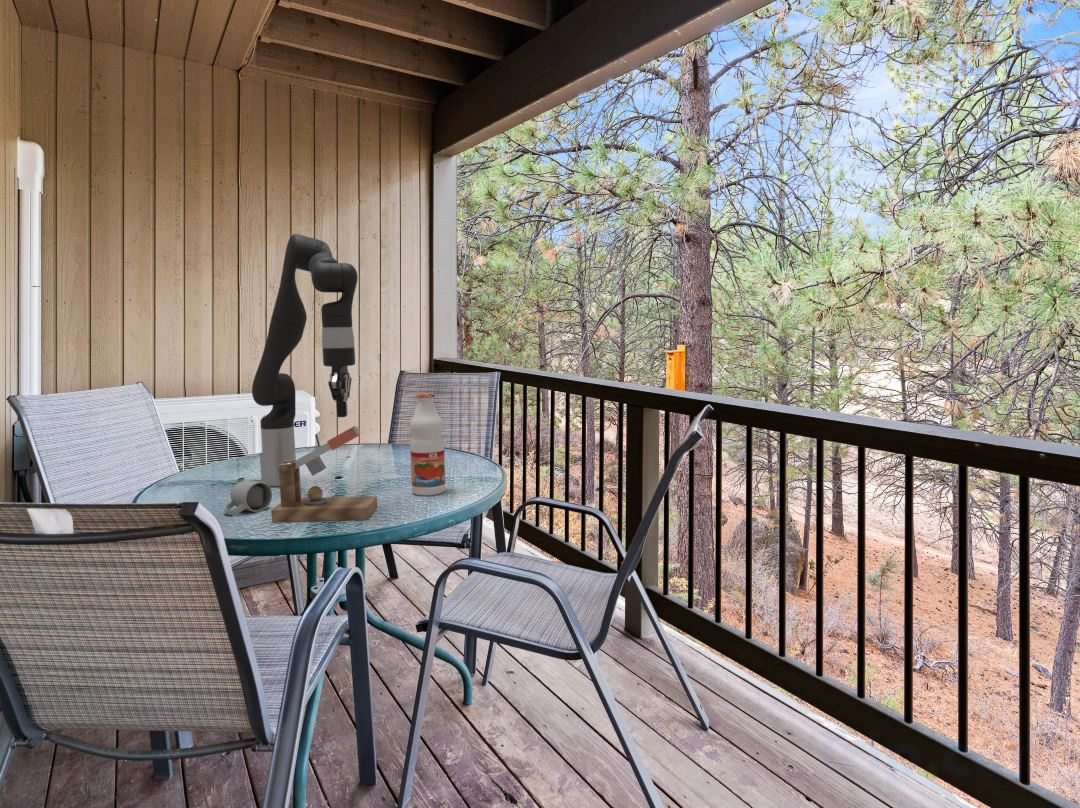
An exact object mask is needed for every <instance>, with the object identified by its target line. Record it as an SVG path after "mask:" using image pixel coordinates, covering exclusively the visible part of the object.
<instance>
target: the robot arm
mask: <svg viewBox="0 0 1080 808" xmlns="http://www.w3.org/2000/svg"><path fill="white" fill-rule="evenodd" d="M297 269H298V270H300V271H305V272H310V274H311V283H312V287H313V288H314V289H315V290H316V291H318V292H321V293H335V294H337V293H341V295H340V298H339V299H338V300H336V301H331V302H326V303H324V304H323V305H321V326H322V328H321V329H322V330H321V345H322V348H321V349H322V362H323V363H322V364H323V366H324V367H331V372H330V375H329V380H328V382H327V383H328V387H329V391H330V393H331V397H332V400H333V401H334V402H335V406H336V417H337V418H345V417H347V416H348V400H349V398H350V396H351V395H350V394H351V386H352V380H353V379H352V377H351V373H350V372H349V369H348V367H349V366H350V367H352V366H355V365H356V351H355V348H356V347H355V336H354V329H353V312H352V309H353V301H354V297H355V296H354V295H355V292H356V288H357V285H358V273H357V272H358V271H357V270H356V268H355V266H354V265H353V264H351V263H347V262H341V263H340V262H339V261H338V260H337V259H335V258H334V256H333V254H332V250H331V248H330V246H329V244H327V243H326V242H324V241H323V240H320V239H318V238H313V237H309V236H306V235H302V234H298V233H293V234H292V235H290V237H289V239H288V241H287V243H286V249H285V254H284V259H283V263H282V270H281V276H280V282H279V288H278V290H277V291H278V292H277V296H276V300H275V303H274V307H273V311H272V314H271V318H270V322H269V327H268V333H267V336H266V337H267V338H266V341H265V344H264V348H263V351H262V355H261V358H260V361H259V365H258V366H257V369H256V371H255V376H254V377H253V380H252V386H251V393H252V394H251V395H252V398H253V401H254V402H255V403H256V404H257V405H258V406H262V407H268V406H272V408H271V410H270V411H269V413H267V415H264V416H263V417H262V418H260V434H261V448H262V451H261V452H260V453H259V464H260V465H259V466H260V482H264V483H266V484H268V485H269V487H280V480H279V464H285V462H284V461H286V460H297V459H296V457H297V456H296V442H295V441H296V439H295V427H294V426H295V425H294V423H295V419H296V413H297V412H296V386H295V382H294V380H293V378H292V377H291V376H290V375H289V374H288V373H283V372H281V371H280V370H281V368H282V366H283V363H284V362H285V360H287V358H288V356H290V355H291V353H292V352H293V351H294V350H295V348H296V347H297V346H298V344H300V342H301V340H302V338H303V336H304V331H305V329H306V328H305V327H306V324H307V319H308V318H307V312H306V308H305V305H304V303H303V300H302V298H301V295H300V293H299V290H298V286H297V282H296V271H297Z"/></svg>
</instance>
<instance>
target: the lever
mask: <svg viewBox="0 0 1080 808" xmlns="http://www.w3.org/2000/svg"><path fill="white" fill-rule="evenodd" d="M359 436H361V431H360V429H359V428H358V426H356V425H353V426H351V427H350V428H348V429H346V430H344V431H343V432H341V433H339V434H337V435H336V436H334V437H332V438H330V439H329V440H327V441H326V443H325V444H323V445H320V446H319V447H317V448H315V449H314V450H312V451H310V452H309V453H307V454H305V455H303V456H302V457H299V458H298V459H296V461H294V462H288V463H286V464H294V472H295V471H296V469H297V468H299V469H300V467H302V466H304V465H305V467H306V469H308V471H309V473H310V475H311V476H312V477H313V476H315V475H317V474H318V473H320V472H322V471H325V469H327V466H326V465H325V463H324V461H323V460H322V457H320V456H322V455H324V454H325V453H327V452H329V451H331V450H332V451H334V450H336V449H338V448H340V447H341V446H342V447H343V445H345V444H346V443H349V442H351V441H352V440H354V439H356V438H357V437H359Z"/></svg>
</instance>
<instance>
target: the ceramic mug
mask: <svg viewBox="0 0 1080 808" xmlns="http://www.w3.org/2000/svg"><path fill="white" fill-rule="evenodd" d="M271 488H272V487H271V486H269V485H268V484H266V483H264V482H261V481H256V480H255V481H254V480H253V481H252V480H245V481H240V482H238V483H236V484H235V485H234V486H232V490H231V492H230V500H231V501H230V502H228V503H227V504H226V505H225V506H224V507H223V511H224V512H225V515H227V516H228V517H229V516H234V515H238V514H240V513H241V512H243V511H245V510H246V511H249V512H253V513H260V512H262V511H263V512H264V511H265V510H266V509H267V508H268V507H269V506H270V505H271V502H272V499H273V492H272V489H271ZM234 507H235V508H234Z"/></svg>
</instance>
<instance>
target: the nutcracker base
mask: <svg viewBox="0 0 1080 808" xmlns="http://www.w3.org/2000/svg"><path fill="white" fill-rule="evenodd" d="M296 460H297V459H296ZM296 460H286V461H284V462H285V464H279V480H280V486H279V490H280V491H279V492H280V493H279V495H280V503H279V504H278V505H276V506H274V507H273V508H272V509H271V512H270V513H271V522H272V523H291V522H292V523H294V522H295V523H298V522H326V521H327V522H330V521H331V522H333V521H363V520H365V521H366V520H369V519H370V518H371V517H372V516H373V514H374V513H375V511H376V510H377V508H378V496H377V495H372V496H369V495H368V496H331V497H330V496H329V497H323V494H324V492H323V489H322V488H321V486H317V485H313V486H311V487H309V488H308V489H307V497H302V491H301V490H302V489H301V488H302V487H301V475H300V474H301V472H300V470H301V469H300V467H299V468H297V469H296V471H295V472H294V464H286V463H288V462H294V461H296Z"/></svg>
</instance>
